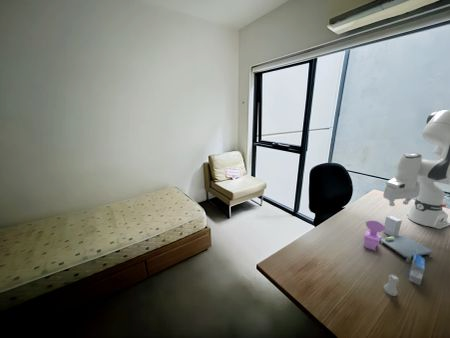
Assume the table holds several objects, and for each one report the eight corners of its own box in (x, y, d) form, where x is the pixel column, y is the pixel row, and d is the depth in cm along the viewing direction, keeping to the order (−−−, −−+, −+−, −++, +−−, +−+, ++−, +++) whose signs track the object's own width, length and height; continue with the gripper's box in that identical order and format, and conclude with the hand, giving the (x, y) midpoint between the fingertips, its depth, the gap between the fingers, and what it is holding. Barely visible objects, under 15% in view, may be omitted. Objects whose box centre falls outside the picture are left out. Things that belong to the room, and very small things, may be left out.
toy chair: (359, 247, 104) (365, 223, 100) (362, 239, 110) (367, 217, 106) (378, 254, 99) (385, 229, 95) (380, 245, 105) (386, 222, 101)
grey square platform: (400, 239, 110) (402, 233, 109) (434, 259, 95) (436, 253, 94) (376, 242, 107) (377, 237, 106) (406, 263, 92) (408, 257, 91)
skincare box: (397, 237, 111) (403, 220, 108) (393, 239, 110) (398, 221, 106) (386, 232, 117) (390, 215, 113) (381, 233, 115) (386, 216, 112)
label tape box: (420, 286, 80) (428, 263, 77) (407, 280, 83) (414, 257, 80) (420, 274, 86) (428, 252, 83) (408, 269, 89) (416, 247, 86)
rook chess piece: (380, 287, 80) (384, 272, 78) (389, 286, 80) (394, 271, 78) (389, 297, 76) (394, 281, 74) (399, 296, 76) (405, 280, 74)
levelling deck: (403, 236, 108) (404, 232, 107) (432, 253, 95) (434, 248, 94) (379, 240, 106) (380, 236, 105) (405, 258, 93) (407, 253, 92)
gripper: (413, 179, 108) (407, 200, 112) (383, 181, 105) (378, 204, 109) (426, 183, 102) (419, 205, 106) (395, 186, 99) (389, 209, 103)
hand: (398, 204), depth 107 cm, fingers open, 8 cm apart
